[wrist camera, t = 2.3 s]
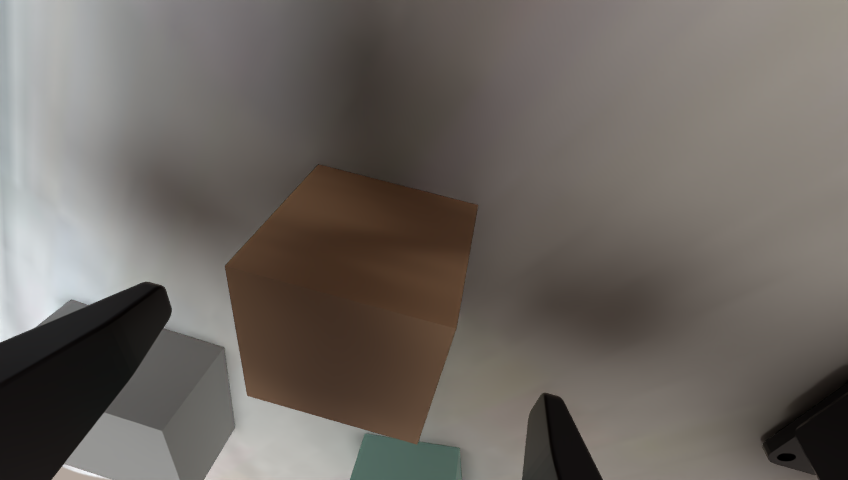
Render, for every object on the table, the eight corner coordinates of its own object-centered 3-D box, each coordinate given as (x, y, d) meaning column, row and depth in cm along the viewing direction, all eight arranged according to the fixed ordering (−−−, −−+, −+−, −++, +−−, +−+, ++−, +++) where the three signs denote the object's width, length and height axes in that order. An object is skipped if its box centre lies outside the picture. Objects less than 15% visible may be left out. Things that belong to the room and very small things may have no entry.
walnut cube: (478, 203, 11) (456, 328, 7) (445, 314, 14) (417, 444, 10) (319, 163, 11) (225, 265, 8) (317, 280, 14) (247, 395, 10)
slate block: (227, 343, 18) (162, 431, 14) (237, 423, 22) (189, 504, 19) (75, 295, 18) (-22, 371, 15) (115, 384, 22) (46, 458, 19)
